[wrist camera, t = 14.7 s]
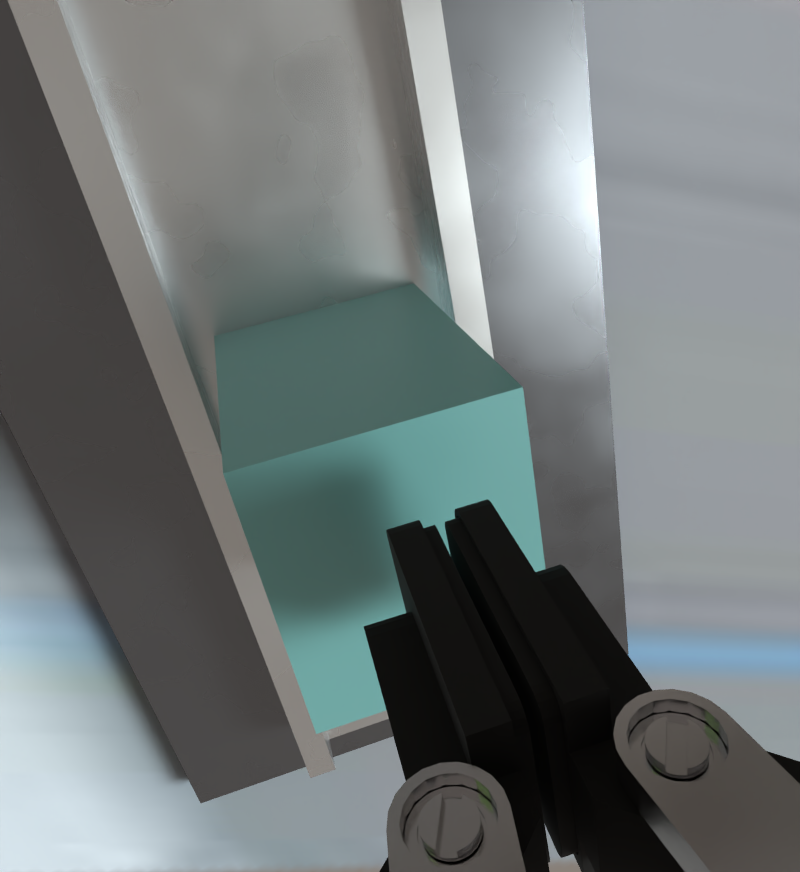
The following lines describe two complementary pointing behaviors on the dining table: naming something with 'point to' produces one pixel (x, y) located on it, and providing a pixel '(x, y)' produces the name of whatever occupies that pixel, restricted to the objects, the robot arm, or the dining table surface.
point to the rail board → (281, 292)
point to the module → (361, 468)
